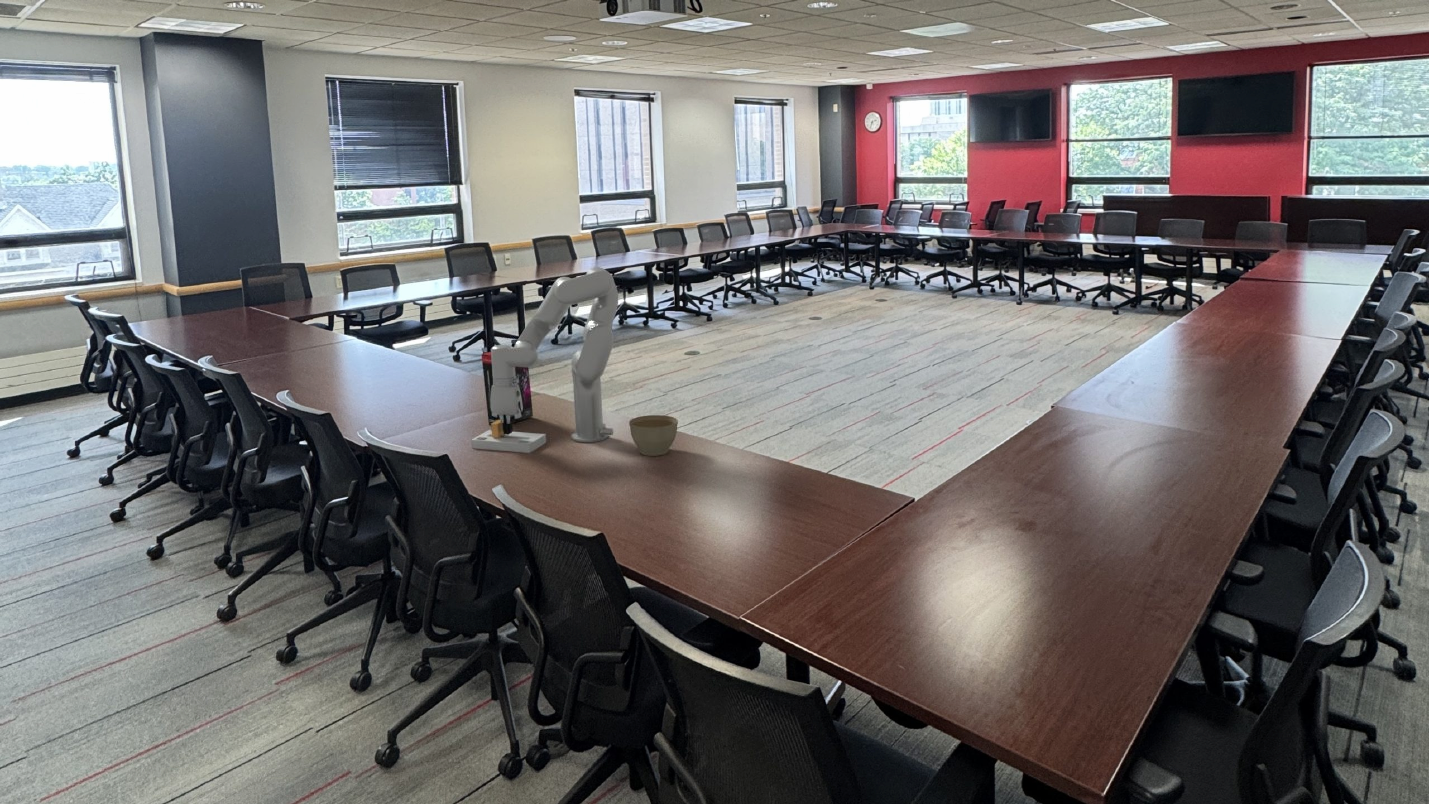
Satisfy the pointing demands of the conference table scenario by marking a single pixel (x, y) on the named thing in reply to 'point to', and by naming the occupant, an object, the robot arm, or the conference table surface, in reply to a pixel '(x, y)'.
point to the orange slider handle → (497, 429)
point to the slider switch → (509, 441)
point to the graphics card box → (523, 384)
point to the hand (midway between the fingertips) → (507, 433)
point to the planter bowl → (653, 433)
